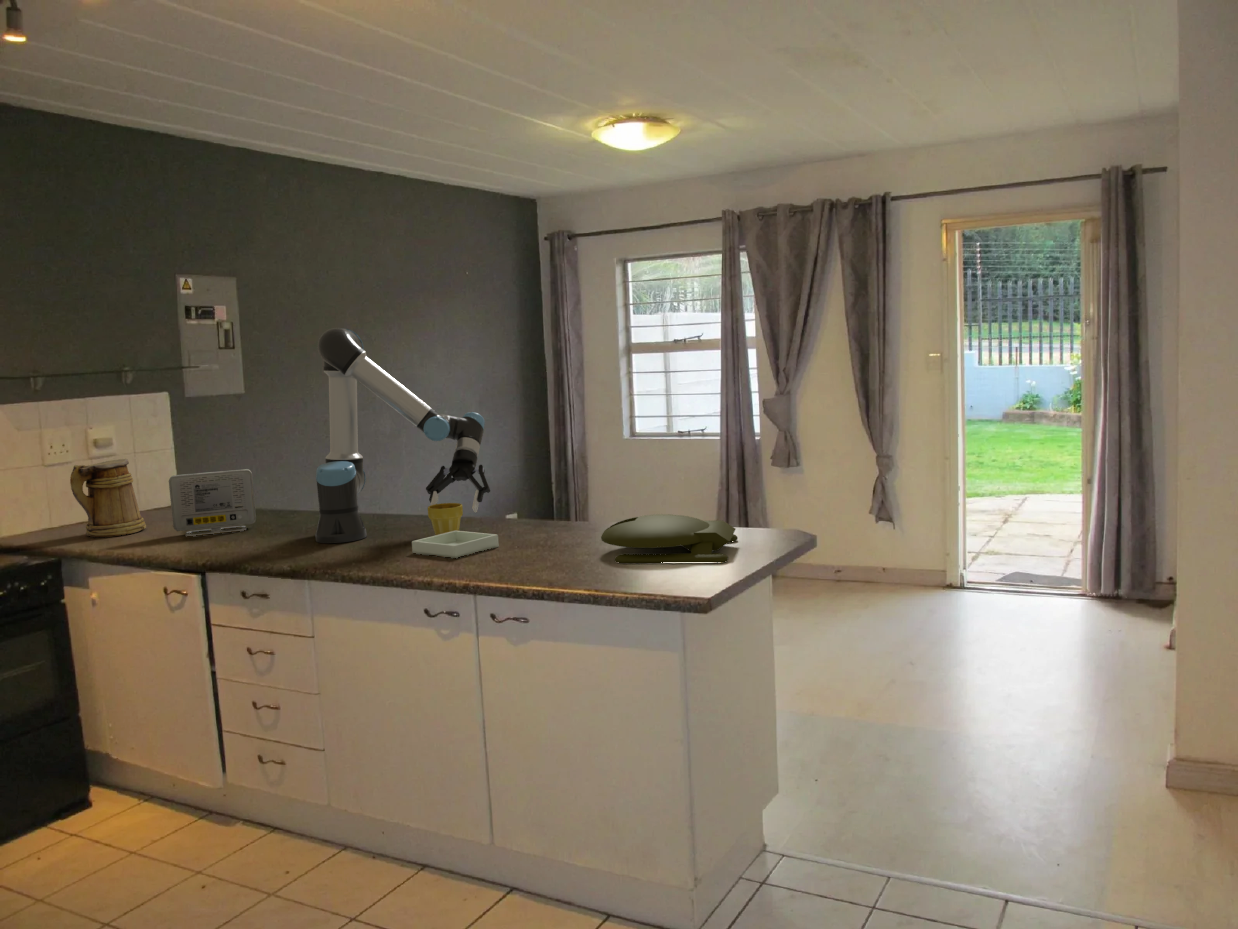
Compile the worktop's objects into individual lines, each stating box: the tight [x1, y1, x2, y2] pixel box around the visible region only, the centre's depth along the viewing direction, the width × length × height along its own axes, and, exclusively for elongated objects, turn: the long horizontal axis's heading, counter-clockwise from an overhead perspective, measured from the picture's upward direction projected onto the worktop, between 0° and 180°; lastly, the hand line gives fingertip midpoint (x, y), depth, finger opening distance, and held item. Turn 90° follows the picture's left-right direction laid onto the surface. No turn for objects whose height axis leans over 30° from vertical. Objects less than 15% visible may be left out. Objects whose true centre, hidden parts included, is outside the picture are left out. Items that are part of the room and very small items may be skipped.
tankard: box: [69, 458, 147, 538], centre depth 336 cm, size 18×24×25 cm
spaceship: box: [600, 513, 739, 563], centre depth 263 cm, size 35×31×10 cm
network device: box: [168, 468, 257, 537], centre depth 330 cm, size 26×9×20 cm, turn 111°
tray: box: [411, 530, 500, 559], centre depth 279 cm, size 17×17×4 cm
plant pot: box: [427, 502, 464, 536], centre depth 299 cm, size 10×10×10 cm
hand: (453, 510), depth 301 cm, fingers open, 13 cm apart
